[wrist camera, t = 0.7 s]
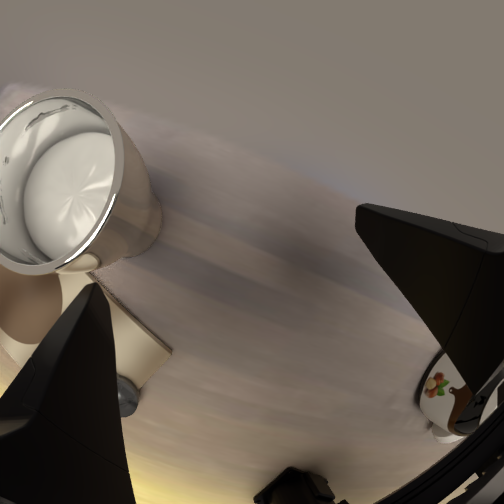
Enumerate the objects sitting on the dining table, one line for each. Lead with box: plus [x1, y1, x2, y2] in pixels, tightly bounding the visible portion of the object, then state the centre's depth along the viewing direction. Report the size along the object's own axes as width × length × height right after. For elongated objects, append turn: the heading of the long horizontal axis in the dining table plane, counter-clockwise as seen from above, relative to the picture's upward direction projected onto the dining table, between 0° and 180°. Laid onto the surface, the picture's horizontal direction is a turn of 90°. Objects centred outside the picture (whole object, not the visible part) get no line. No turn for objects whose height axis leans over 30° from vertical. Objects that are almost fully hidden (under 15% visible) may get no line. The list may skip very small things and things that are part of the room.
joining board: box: [0, 264, 172, 390], centre depth 20 cm, size 26×12×1 cm, turn 46°
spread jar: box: [419, 351, 504, 443], centre depth 24 cm, size 12×11×12 cm
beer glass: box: [0, 88, 162, 275], centre depth 15 cm, size 7×7×15 cm
